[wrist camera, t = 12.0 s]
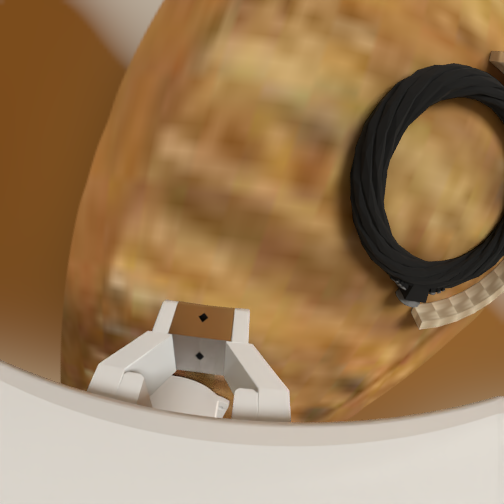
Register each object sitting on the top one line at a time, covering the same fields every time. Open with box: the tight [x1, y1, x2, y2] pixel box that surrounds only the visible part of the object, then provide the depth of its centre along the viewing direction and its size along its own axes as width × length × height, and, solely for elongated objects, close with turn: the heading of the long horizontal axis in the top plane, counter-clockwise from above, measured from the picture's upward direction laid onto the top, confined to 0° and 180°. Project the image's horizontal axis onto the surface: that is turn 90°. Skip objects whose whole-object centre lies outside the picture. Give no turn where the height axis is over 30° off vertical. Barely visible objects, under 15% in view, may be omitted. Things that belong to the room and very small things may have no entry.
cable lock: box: [350, 63, 504, 307], centre depth 28 cm, size 28×4×30 cm
